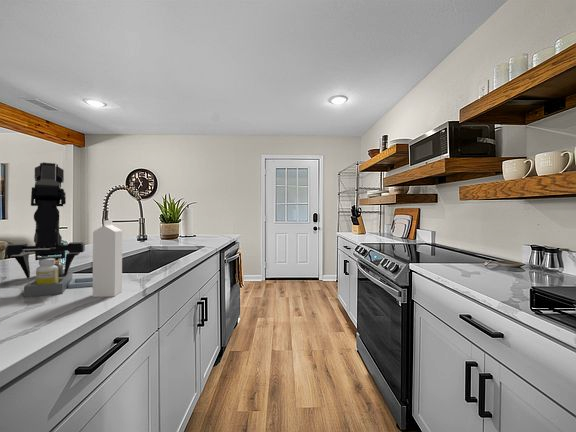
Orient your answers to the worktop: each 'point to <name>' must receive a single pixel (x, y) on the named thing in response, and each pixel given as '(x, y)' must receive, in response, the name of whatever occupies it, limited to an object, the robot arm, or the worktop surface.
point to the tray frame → (73, 284)
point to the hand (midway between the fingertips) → (47, 276)
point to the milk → (107, 260)
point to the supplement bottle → (47, 272)
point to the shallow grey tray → (52, 288)
